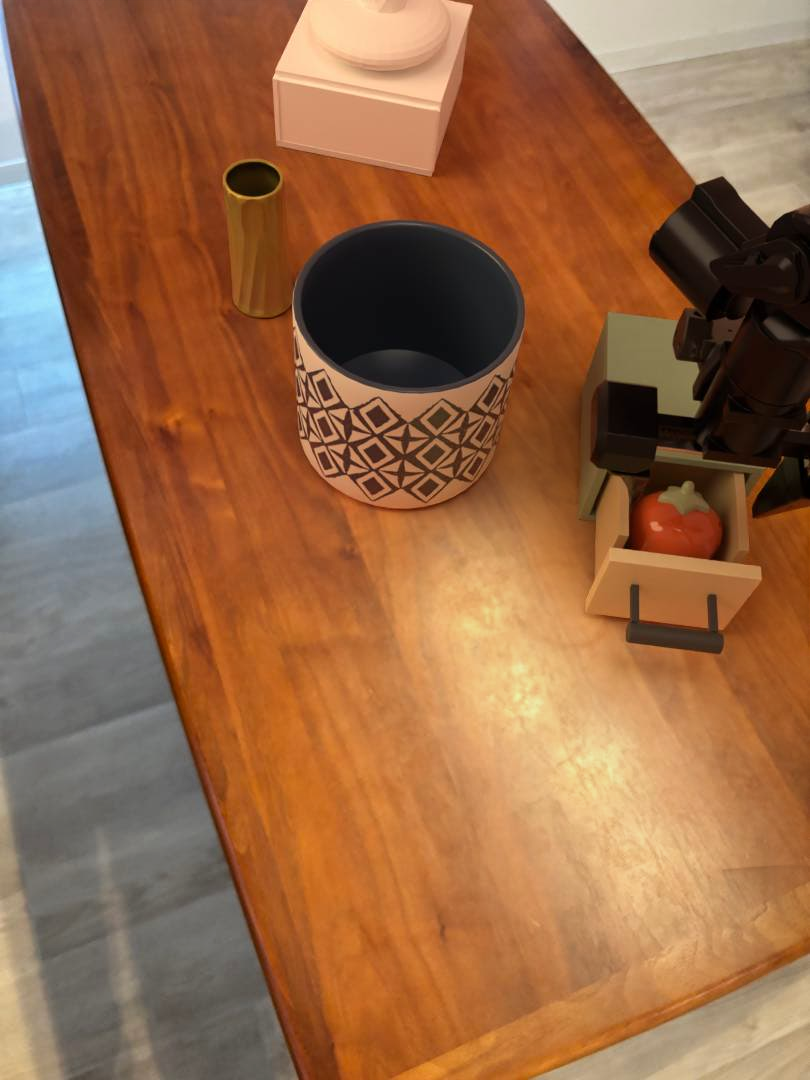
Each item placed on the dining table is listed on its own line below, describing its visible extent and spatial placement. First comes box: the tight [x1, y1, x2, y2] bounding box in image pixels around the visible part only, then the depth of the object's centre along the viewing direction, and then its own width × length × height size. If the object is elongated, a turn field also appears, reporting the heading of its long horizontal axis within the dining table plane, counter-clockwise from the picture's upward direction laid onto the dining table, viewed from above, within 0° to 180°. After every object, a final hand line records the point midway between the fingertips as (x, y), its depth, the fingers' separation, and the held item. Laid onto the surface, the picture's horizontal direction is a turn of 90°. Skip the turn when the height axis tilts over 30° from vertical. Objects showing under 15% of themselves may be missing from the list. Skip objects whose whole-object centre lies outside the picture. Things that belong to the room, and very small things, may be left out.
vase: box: [222, 158, 295, 319], centre depth 93 cm, size 6×6×14 cm
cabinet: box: [577, 311, 766, 522], centre depth 87 cm, size 15×13×11 cm
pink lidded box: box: [271, 0, 474, 178], centre depth 107 cm, size 18×18×16 cm
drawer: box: [584, 461, 763, 655], centre depth 81 cm, size 18×11×9 cm, turn 174°
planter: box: [291, 219, 527, 509], centre depth 85 cm, size 18×18×16 cm
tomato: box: [629, 481, 723, 560], centre depth 80 cm, size 7×7×8 cm
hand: (693, 505), depth 75 cm, fingers open, 9 cm apart
